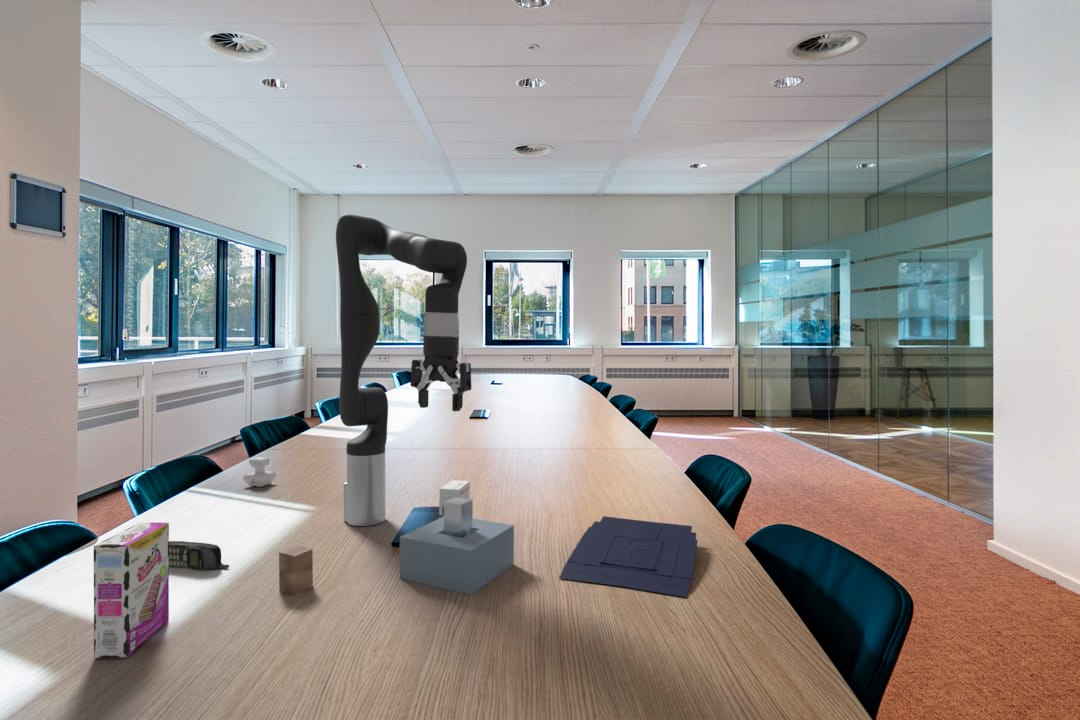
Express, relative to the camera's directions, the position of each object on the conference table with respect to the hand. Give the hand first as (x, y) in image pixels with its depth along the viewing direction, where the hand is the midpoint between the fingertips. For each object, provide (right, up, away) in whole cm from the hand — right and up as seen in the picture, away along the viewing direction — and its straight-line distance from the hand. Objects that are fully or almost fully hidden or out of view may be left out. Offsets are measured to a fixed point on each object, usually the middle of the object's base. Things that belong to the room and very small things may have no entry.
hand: (440, 409), depth 128 cm
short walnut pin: (-23, -31, -20) cm, 43 cm away
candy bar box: (-40, -32, -38) cm, 64 cm away
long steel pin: (+5, -31, -11) cm, 33 cm away
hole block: (+6, -31, -11) cm, 33 cm away
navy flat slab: (+41, -32, -5) cm, 52 cm away
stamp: (-64, -28, +53) cm, 88 cm away
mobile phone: (-48, -31, -10) cm, 58 cm away
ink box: (+2, -30, +10) cm, 32 cm away
